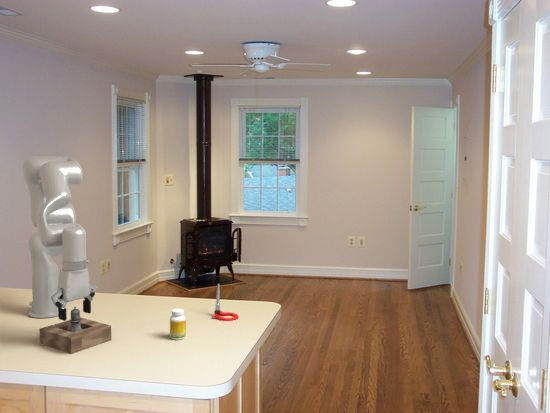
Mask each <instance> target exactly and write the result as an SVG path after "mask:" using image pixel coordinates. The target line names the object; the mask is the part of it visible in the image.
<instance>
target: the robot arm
mask: <svg viewBox="0 0 550 413" xmlns="http://www.w3.org/2000/svg"><path fill="white" fill-rule="evenodd" d="M83 172H84V171H83V169H82V165H81V164H80V163H79V161H77V160H76V159H74V158H72V157H71V156H65V155H64V156H61V155H60V156H59V155H58V156H55V155H54V156H48V155H45V156H43V155H42V156H40V155H39V156H37V155H36V156H30V157H27V158H25V159H24V161H23V163H22V174H23V177H24V180H25V182H26V185H27V188H28V191H29V202H30V216H31V217H30V218H31V219H30V220H31V223H32V225H33V226H34V227H35V228H37V232H35V233H33V234H31V235H30V236H29V238H28V242H27V243H28V251H29V256H30V262H31V263H30V264H31V283H32V284H31V285H32V286H31V290H32V301H30V302H29V303H28V305H29V306H31V309H30V310H29V311H28V316H29V317H31V318H35V319H47V318H55V317H58V319H59V320H61V321H62V322H65V321H68V320H67V318H68V317H67V315H68V314H67V308H66V306H67V304H68V303H69V302H74V301H77V300H81V299H83V301H82V311H83V312H82V313H86V314H91V313H92V302H93V299H94V296H95V295H96V291H97V288H98V287H97V286H96V285H94V284H91V281H90V274H89V269H88V267H87V264H89V260H88V259H87V232H86V231H87V230H85V228H84V227H83V226H82V225H81V224H80V223H77V213H76V209H75V206H74V205H73V204H72V203H71V202H72V193H71V190H70V186H69V185H79V184H81V183H82V181H83V178H84V173H83ZM57 256H59V257H60V256H61V268H62V269H61V270H59V266H58V264H57V263H56V262H55V261H54V259H52V258H53V257H57Z"/></svg>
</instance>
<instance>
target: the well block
mask: <svg viewBox="0 0 550 413" xmlns="http://www.w3.org/2000/svg"><path fill="white" fill-rule="evenodd" d="M80 319H81V321H80V326H81V329H84V330H80V331H77V332H74V333H73V332H70V331H68V330H70V328H71V322H70V320H71V319H69V320H65V321H62V322H58V323H54V324H50V325H48V326H44V327H41V328H39V344H40V345H43V346H46V347H49V348H52V349H56V350H58V351H61V352H65V353H68V354H71V355H73V354H75V353H78V352H81V351H84V350H87V349H90V348H92V347H96V346H98V345H102V344H105V343H107V342H110V341H112V325H110V324H106V323H103V322H99V321H95V320H92V319H89V318H88V319H87V318H83V317H81V316H80Z"/></svg>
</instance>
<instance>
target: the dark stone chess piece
mask: <svg viewBox="0 0 550 413" xmlns="http://www.w3.org/2000/svg"><path fill="white" fill-rule="evenodd" d="M80 317H81V311H80V310H79V309H78V308H77V307H76V306H74V307H73V308H72V309H71V311H70V319H69V320H70V322H71V328H70V330H68V331H70V332H73V333H74V332H77V331H80V330H84V329H81V326H80V321H81V319H80Z"/></svg>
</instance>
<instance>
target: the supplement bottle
mask: <svg viewBox="0 0 550 413" xmlns="http://www.w3.org/2000/svg"><path fill="white" fill-rule="evenodd" d="M184 314H185V311H184V309H182V308H173V309H172V310H171V316H170V318H169V338H170V339H171V340H175V341H179V340H184V339H185V338H186V328H187V326H186V324H187V323H186V322H187V320H186V319H187V318H186V316H185V315H184Z"/></svg>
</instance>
